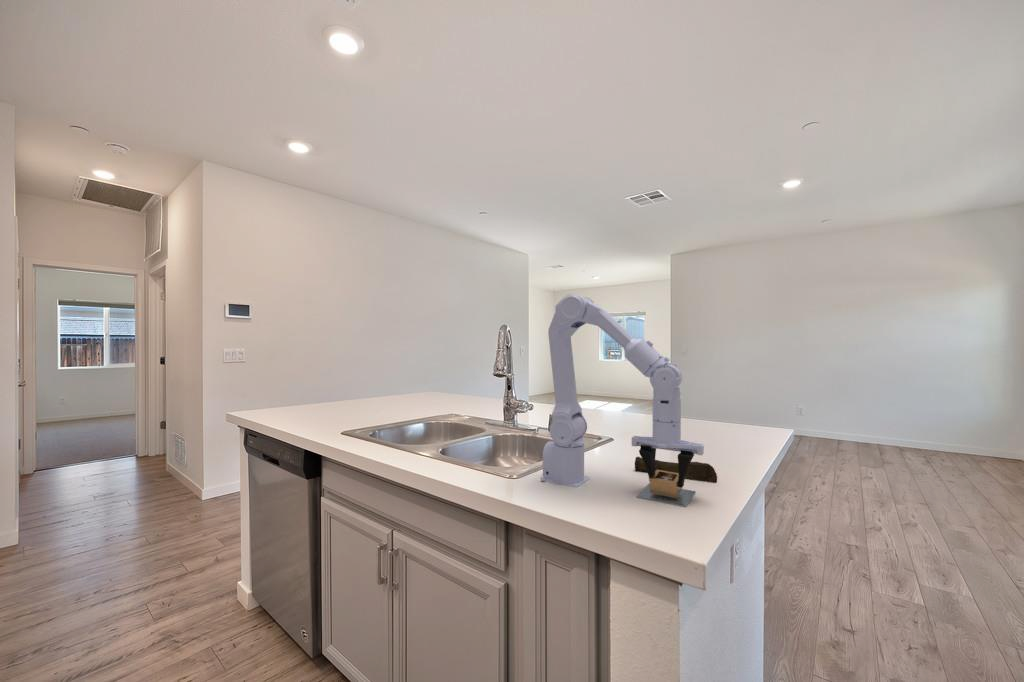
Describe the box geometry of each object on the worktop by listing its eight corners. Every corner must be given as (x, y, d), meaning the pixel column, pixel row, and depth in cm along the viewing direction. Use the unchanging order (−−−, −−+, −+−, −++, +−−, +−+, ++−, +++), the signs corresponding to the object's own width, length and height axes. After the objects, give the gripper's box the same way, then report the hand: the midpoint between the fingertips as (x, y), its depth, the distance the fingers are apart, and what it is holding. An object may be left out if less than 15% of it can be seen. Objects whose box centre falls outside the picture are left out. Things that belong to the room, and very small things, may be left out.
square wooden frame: (650, 492, 92) (649, 478, 91) (657, 483, 96) (656, 469, 96) (676, 498, 89) (676, 483, 88) (682, 488, 93) (682, 473, 93)
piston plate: (636, 499, 91) (636, 479, 91) (649, 485, 99) (649, 467, 99) (686, 509, 85) (686, 488, 85) (695, 494, 94) (695, 475, 94)
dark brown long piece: (633, 473, 109) (633, 455, 109) (638, 469, 112) (638, 451, 112) (714, 488, 98) (714, 468, 98) (717, 483, 102) (717, 463, 102)
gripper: (627, 419, 93) (627, 482, 93) (699, 427, 85) (699, 495, 85) (636, 414, 99) (636, 474, 99) (705, 421, 91) (705, 485, 91)
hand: (666, 483), depth 92 cm, fingers closed on square wooden frame, 5 cm apart
